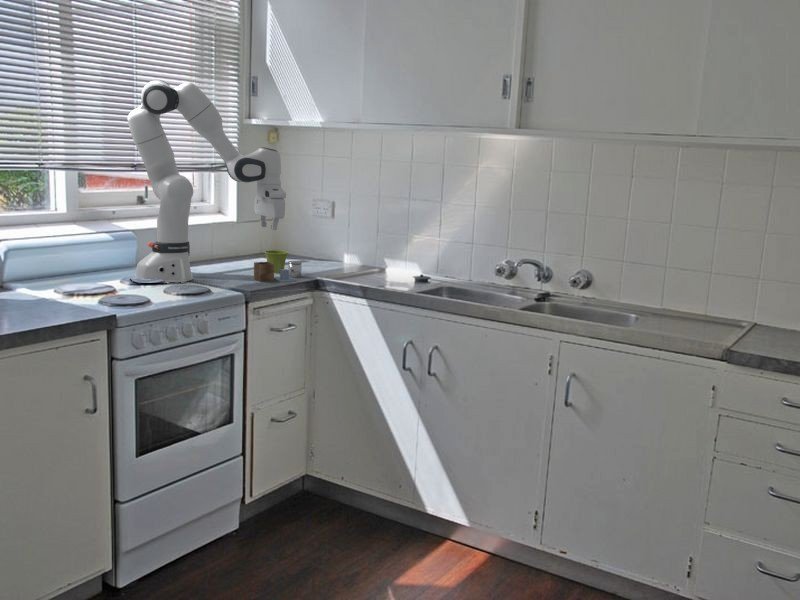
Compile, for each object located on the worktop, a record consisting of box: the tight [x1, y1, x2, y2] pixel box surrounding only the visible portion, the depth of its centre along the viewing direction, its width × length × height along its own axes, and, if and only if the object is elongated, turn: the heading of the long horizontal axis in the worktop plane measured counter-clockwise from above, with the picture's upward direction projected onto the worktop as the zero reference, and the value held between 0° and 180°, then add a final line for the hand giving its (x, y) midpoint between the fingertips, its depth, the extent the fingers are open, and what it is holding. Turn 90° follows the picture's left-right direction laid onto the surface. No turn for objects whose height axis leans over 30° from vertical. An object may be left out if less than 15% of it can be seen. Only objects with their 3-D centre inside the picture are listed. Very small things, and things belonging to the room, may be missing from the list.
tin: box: [288, 260, 303, 279], centre depth 328 cm, size 5×5×6 cm
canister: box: [253, 261, 275, 283], centre depth 317 cm, size 6×6×7 cm
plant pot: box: [264, 249, 289, 274], centre depth 337 cm, size 9×9×9 cm
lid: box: [274, 268, 297, 283], centre depth 319 cm, size 7×7×5 cm
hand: (268, 228), depth 319 cm, fingers open, 8 cm apart
